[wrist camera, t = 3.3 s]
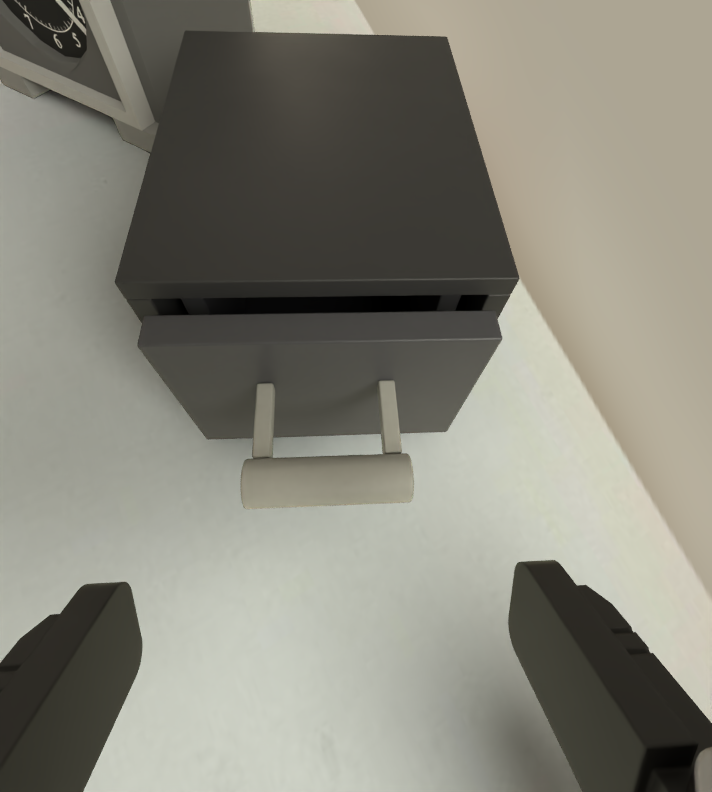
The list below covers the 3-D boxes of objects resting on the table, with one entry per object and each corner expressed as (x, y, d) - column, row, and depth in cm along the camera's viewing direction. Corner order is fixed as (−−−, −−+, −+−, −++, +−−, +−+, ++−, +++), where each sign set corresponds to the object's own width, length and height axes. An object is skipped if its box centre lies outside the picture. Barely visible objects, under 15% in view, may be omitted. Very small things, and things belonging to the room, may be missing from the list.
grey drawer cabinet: (449, 408, 22) (520, 278, 13) (203, 415, 21) (113, 282, 13) (415, 205, 29) (447, 36, 21) (230, 205, 28) (184, 29, 20)
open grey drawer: (461, 526, 18) (537, 473, 11) (195, 538, 18) (103, 489, 11) (413, 222, 27) (439, 87, 20) (232, 223, 26) (195, 83, 19)
